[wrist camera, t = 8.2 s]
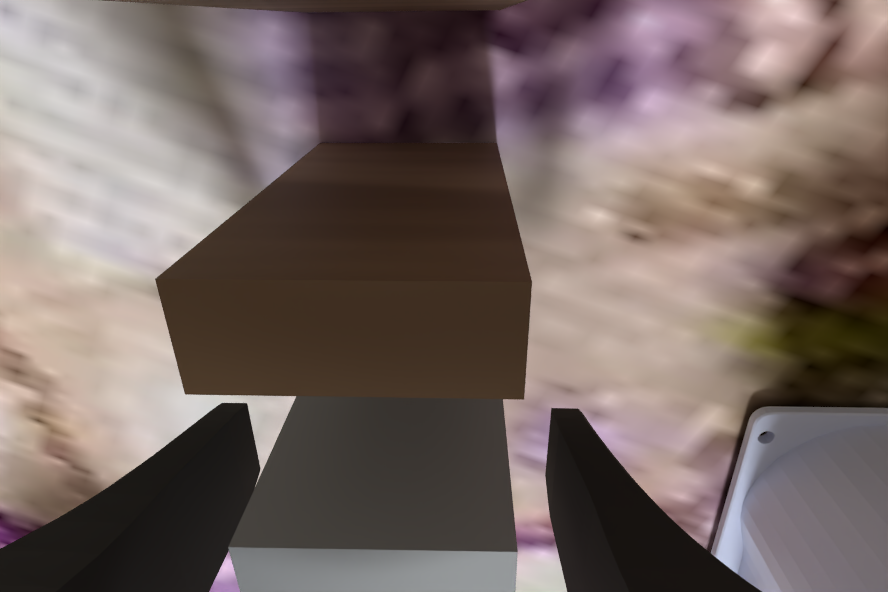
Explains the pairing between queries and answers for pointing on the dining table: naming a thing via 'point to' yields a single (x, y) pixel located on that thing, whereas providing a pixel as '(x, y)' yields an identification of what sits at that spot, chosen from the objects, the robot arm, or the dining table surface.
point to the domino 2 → (382, 500)
